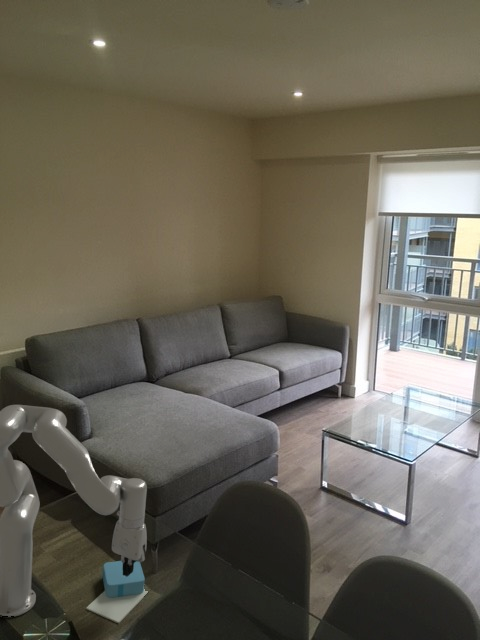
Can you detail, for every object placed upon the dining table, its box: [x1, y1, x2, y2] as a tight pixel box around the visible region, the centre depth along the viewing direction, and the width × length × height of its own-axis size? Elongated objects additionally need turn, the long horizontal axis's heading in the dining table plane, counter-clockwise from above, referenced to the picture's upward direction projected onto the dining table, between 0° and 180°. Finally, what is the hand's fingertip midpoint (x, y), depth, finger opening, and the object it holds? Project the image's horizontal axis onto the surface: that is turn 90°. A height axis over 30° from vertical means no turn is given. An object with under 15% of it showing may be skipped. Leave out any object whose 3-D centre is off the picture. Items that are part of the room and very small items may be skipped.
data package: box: [102, 560, 146, 598], centre depth 175 cm, size 12×4×12 cm
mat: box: [85, 589, 149, 624], centre depth 169 cm, size 12×18×1 cm, turn 157°
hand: (127, 573), depth 167 cm, fingers closed
